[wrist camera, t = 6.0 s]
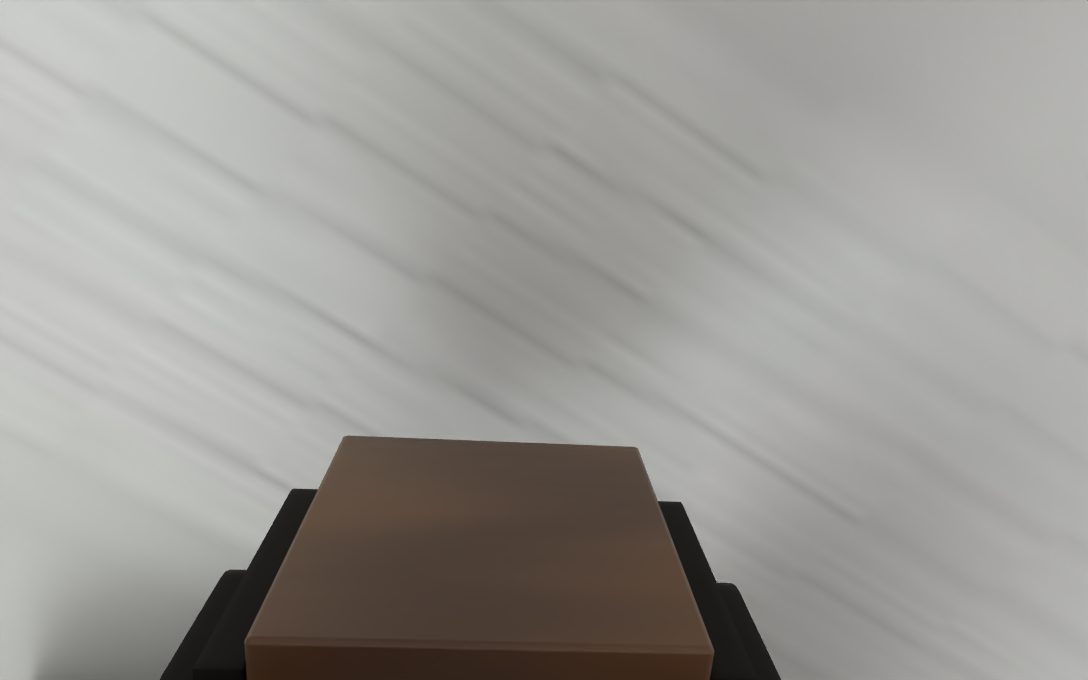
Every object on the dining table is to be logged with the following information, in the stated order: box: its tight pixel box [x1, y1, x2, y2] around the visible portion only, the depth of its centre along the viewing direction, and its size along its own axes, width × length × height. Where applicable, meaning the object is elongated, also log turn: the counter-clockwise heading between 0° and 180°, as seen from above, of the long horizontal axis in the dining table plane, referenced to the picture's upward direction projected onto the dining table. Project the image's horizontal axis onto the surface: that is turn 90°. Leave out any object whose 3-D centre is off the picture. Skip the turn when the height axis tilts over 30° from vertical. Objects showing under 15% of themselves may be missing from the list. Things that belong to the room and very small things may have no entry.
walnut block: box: [244, 436, 714, 680], centre depth 10 cm, size 5×5×5 cm
